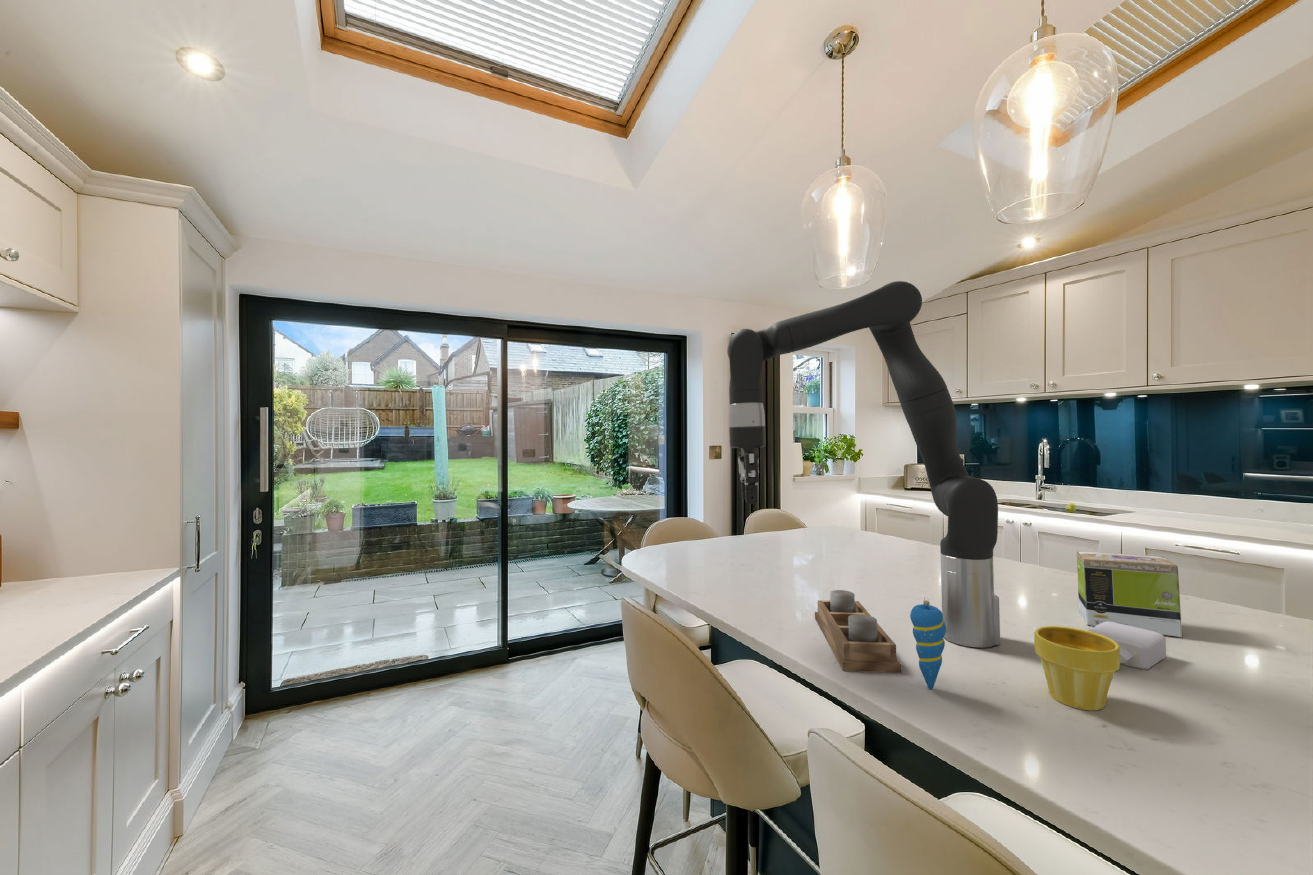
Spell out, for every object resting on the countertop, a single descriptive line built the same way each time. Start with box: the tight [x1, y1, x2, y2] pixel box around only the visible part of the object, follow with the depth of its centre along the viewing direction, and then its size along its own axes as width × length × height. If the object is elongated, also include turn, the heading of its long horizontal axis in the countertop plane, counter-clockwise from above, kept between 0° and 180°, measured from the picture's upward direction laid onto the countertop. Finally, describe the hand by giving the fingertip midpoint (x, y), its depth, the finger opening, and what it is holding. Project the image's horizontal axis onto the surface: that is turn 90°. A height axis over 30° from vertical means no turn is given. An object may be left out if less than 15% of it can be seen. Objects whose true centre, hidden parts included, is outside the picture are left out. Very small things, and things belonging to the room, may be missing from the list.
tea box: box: [1076, 550, 1183, 638], centre depth 110 cm, size 15×10×15 cm, turn 58°
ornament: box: [909, 597, 946, 690], centre depth 84 cm, size 5×5×15 cm
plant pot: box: [1033, 625, 1121, 711], centre depth 80 cm, size 10×10×10 cm
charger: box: [1086, 622, 1167, 670], centre depth 93 cm, size 5×9×15 cm
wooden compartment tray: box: [814, 589, 903, 674], centre depth 104 cm, size 10×27×8 cm, turn 173°
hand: (749, 501), depth 108 cm, fingers open, 8 cm apart
